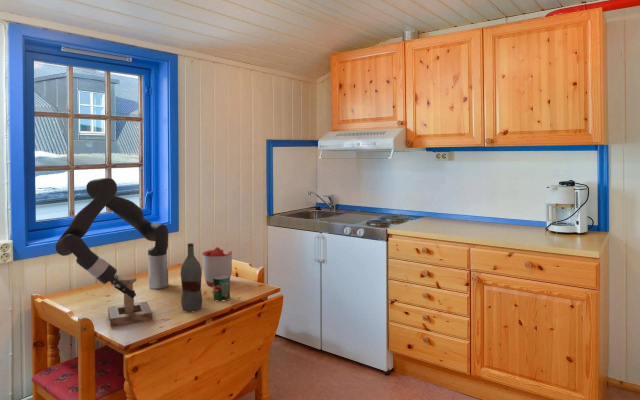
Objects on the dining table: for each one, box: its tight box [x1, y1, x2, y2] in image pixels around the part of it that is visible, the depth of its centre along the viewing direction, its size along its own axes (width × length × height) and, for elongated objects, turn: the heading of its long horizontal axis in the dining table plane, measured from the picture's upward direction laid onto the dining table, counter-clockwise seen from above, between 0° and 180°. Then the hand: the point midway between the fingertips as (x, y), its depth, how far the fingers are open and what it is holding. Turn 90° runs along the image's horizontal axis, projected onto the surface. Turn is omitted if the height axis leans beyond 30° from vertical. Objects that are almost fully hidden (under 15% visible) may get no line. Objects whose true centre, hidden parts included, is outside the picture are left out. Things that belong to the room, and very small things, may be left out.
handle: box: [120, 276, 137, 313], centre depth 197 cm, size 5×6×15 cm
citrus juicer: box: [201, 246, 233, 287], centre depth 248 cm, size 16×17×20 cm
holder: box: [107, 301, 153, 328], centre depth 198 cm, size 16×16×4 cm
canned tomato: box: [212, 274, 231, 302], centre depth 223 cm, size 8×8×11 cm
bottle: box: [180, 242, 203, 313], centre depth 208 cm, size 9×9×30 cm
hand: (133, 294), depth 198 cm, fingers closed on handle, 3 cm apart
